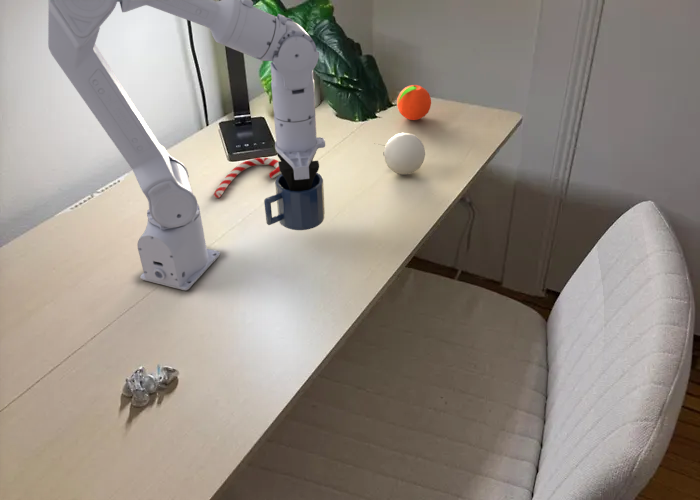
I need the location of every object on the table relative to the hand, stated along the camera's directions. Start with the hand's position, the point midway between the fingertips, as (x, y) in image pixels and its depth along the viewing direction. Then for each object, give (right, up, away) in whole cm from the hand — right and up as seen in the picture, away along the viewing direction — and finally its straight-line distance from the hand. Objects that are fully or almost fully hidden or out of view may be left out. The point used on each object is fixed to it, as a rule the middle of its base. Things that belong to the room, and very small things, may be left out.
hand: (300, 198), depth 101 cm
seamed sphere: (+16, +7, +22) cm, 28 cm away
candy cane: (-11, +4, +19) cm, 23 cm away
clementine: (+20, +19, +39) cm, 48 cm away
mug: (-1, -3, +1) cm, 4 cm away
